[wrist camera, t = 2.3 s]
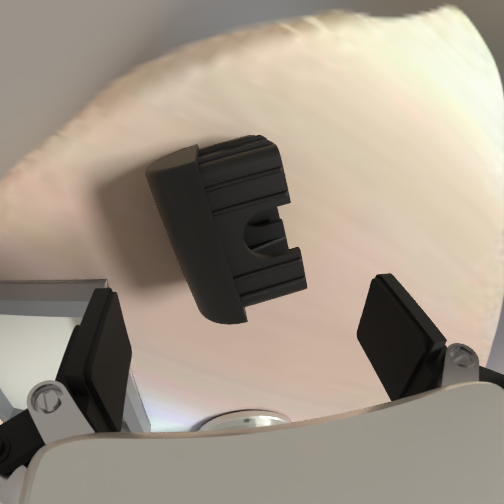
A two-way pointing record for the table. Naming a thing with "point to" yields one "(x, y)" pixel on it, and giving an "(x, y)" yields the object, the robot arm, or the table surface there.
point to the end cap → (228, 224)
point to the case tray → (47, 341)
